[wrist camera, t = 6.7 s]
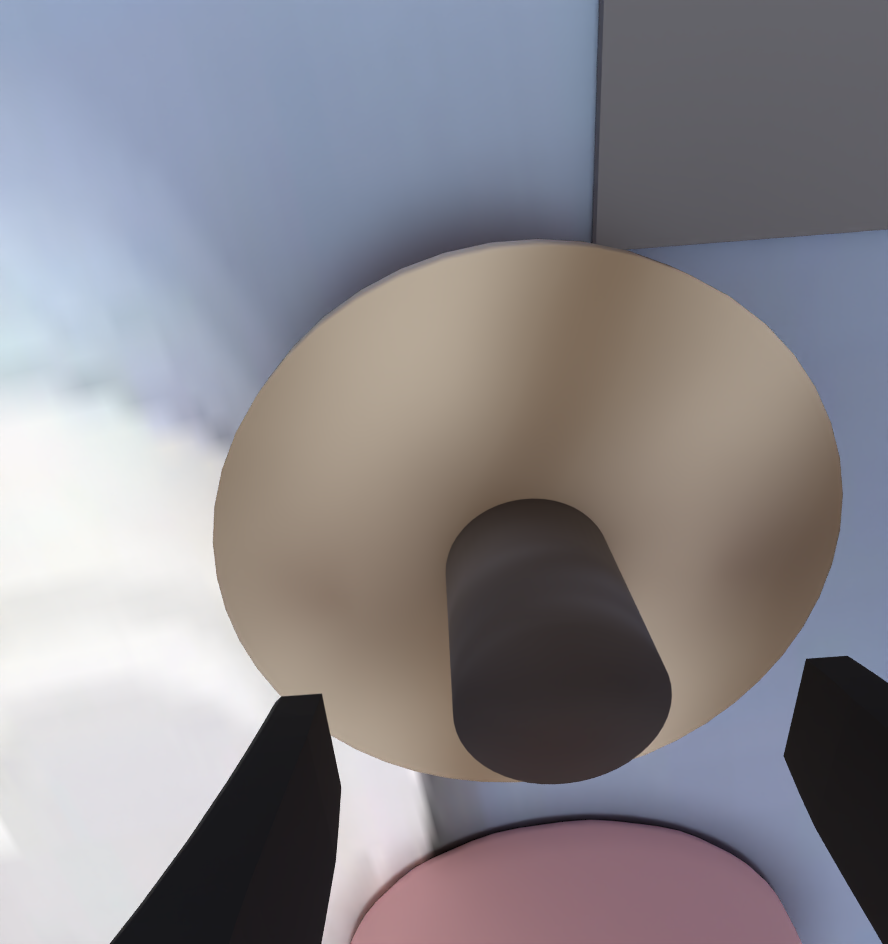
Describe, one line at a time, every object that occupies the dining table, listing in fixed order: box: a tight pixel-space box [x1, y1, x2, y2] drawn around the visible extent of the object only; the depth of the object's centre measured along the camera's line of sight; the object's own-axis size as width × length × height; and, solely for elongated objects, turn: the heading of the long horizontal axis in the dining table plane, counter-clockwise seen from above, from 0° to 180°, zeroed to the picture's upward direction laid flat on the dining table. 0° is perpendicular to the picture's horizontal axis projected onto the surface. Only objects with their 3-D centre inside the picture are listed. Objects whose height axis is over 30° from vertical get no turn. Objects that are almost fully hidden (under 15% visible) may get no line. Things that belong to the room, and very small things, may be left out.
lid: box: [213, 239, 843, 784], centre depth 11 cm, size 12×12×4 cm
